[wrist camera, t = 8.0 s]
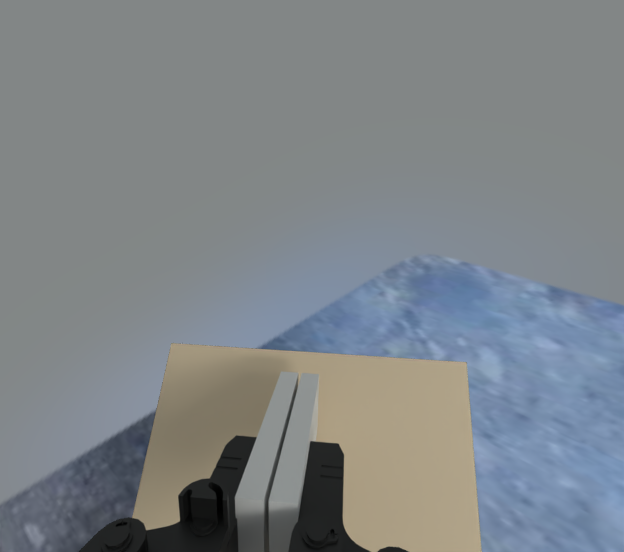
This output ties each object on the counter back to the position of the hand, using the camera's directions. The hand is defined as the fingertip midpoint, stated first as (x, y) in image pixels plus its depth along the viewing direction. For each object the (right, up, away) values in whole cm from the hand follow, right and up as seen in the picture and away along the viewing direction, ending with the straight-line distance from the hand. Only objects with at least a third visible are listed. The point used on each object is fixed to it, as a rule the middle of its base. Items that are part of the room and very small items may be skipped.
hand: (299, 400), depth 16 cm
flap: (0, -10, -2) cm, 10 cm away
